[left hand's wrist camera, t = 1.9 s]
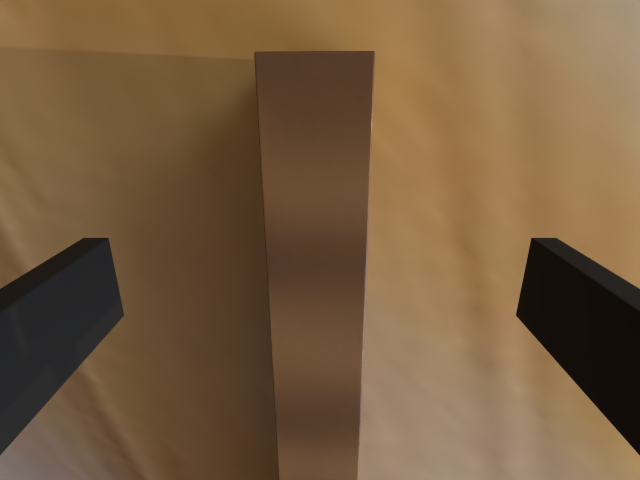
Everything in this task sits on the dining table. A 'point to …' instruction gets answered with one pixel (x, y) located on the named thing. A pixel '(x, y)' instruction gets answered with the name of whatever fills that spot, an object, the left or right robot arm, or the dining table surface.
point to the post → (316, 250)
